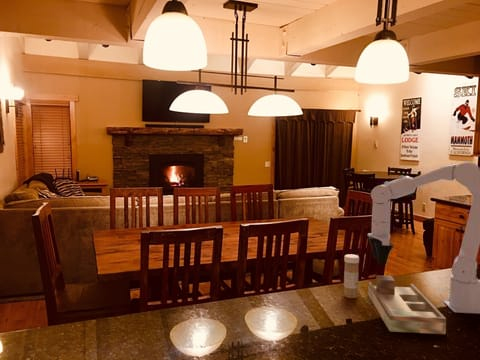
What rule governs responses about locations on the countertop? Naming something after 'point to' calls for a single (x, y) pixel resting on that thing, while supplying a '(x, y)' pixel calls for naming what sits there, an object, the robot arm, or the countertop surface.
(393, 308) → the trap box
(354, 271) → the sprinkles bottle
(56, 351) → the countertop surface
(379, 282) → the walnut block
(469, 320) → the countertop surface
